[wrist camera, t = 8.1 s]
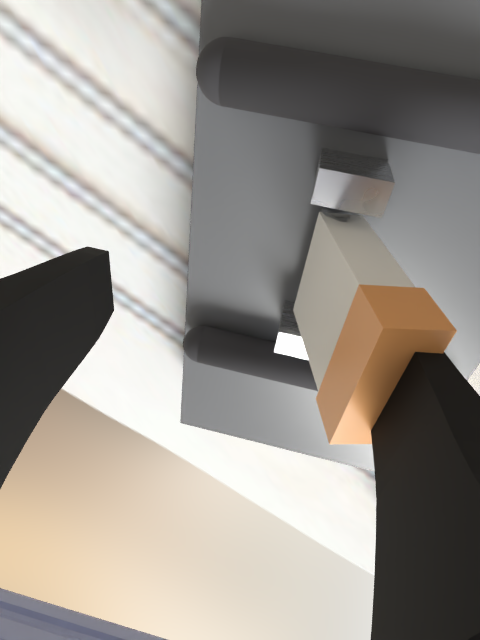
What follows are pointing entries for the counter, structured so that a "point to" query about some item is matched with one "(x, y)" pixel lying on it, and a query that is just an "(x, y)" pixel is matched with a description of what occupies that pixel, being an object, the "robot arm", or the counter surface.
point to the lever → (360, 323)
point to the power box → (323, 190)
